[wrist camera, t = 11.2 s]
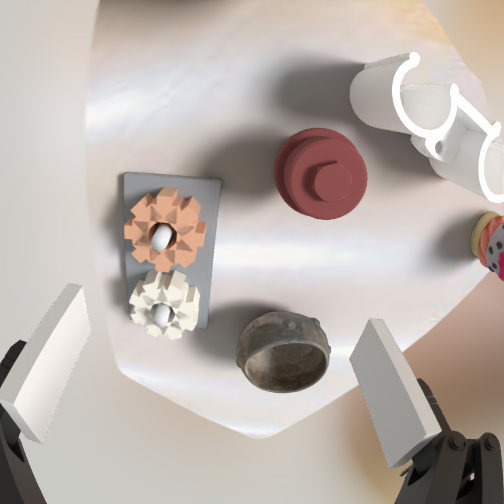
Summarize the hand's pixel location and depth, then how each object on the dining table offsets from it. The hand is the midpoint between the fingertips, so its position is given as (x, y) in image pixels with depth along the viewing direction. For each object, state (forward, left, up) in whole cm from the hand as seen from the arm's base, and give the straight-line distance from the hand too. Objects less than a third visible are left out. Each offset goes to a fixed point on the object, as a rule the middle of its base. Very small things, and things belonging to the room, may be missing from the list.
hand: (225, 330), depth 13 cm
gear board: (+12, -8, -29) cm, 33 cm away
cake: (+1, +49, -30) cm, 58 cm away
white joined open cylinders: (-13, +26, -30) cm, 42 cm away
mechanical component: (-4, +9, -30) cm, 31 cm away
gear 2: (+19, -8, -28) cm, 34 cm away
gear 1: (+7, -8, -28) cm, 30 cm away
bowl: (+24, +11, -30) cm, 40 cm away
